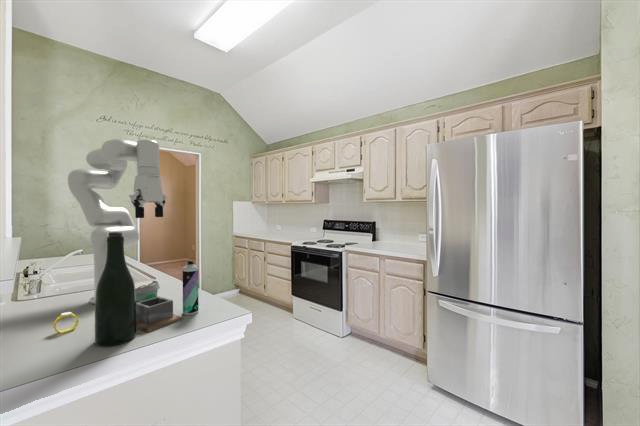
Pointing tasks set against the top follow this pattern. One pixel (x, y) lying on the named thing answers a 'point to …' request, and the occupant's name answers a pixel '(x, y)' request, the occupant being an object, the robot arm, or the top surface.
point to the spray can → (190, 289)
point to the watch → (65, 316)
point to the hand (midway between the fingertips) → (149, 217)
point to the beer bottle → (115, 297)
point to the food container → (147, 291)
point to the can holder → (155, 314)
